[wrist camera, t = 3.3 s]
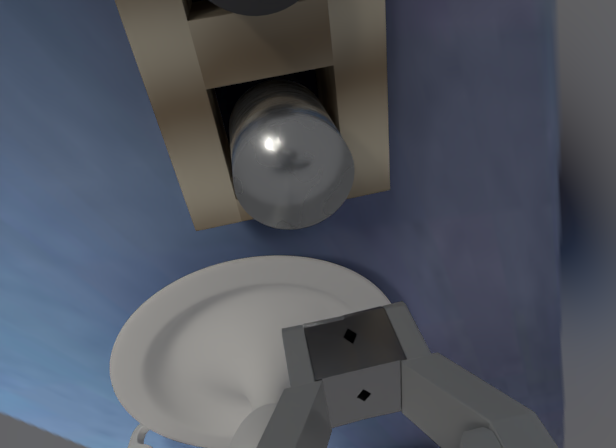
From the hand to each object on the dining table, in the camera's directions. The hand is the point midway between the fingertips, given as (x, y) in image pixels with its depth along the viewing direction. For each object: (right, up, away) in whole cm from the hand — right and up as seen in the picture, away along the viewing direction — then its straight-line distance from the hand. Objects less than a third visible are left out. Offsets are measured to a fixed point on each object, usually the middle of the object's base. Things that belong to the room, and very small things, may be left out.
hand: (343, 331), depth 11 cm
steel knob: (-2, +7, +10) cm, 12 cm away
